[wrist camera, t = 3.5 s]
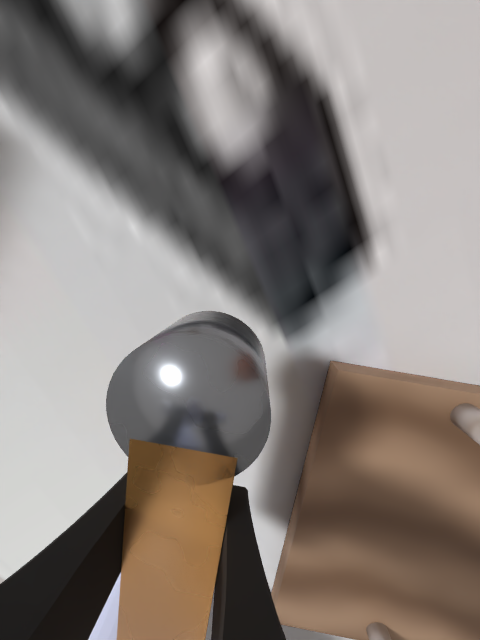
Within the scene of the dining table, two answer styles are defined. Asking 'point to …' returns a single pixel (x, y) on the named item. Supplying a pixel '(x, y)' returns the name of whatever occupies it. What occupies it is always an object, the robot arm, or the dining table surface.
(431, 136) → the dining table surface
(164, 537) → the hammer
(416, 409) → the walnut board
